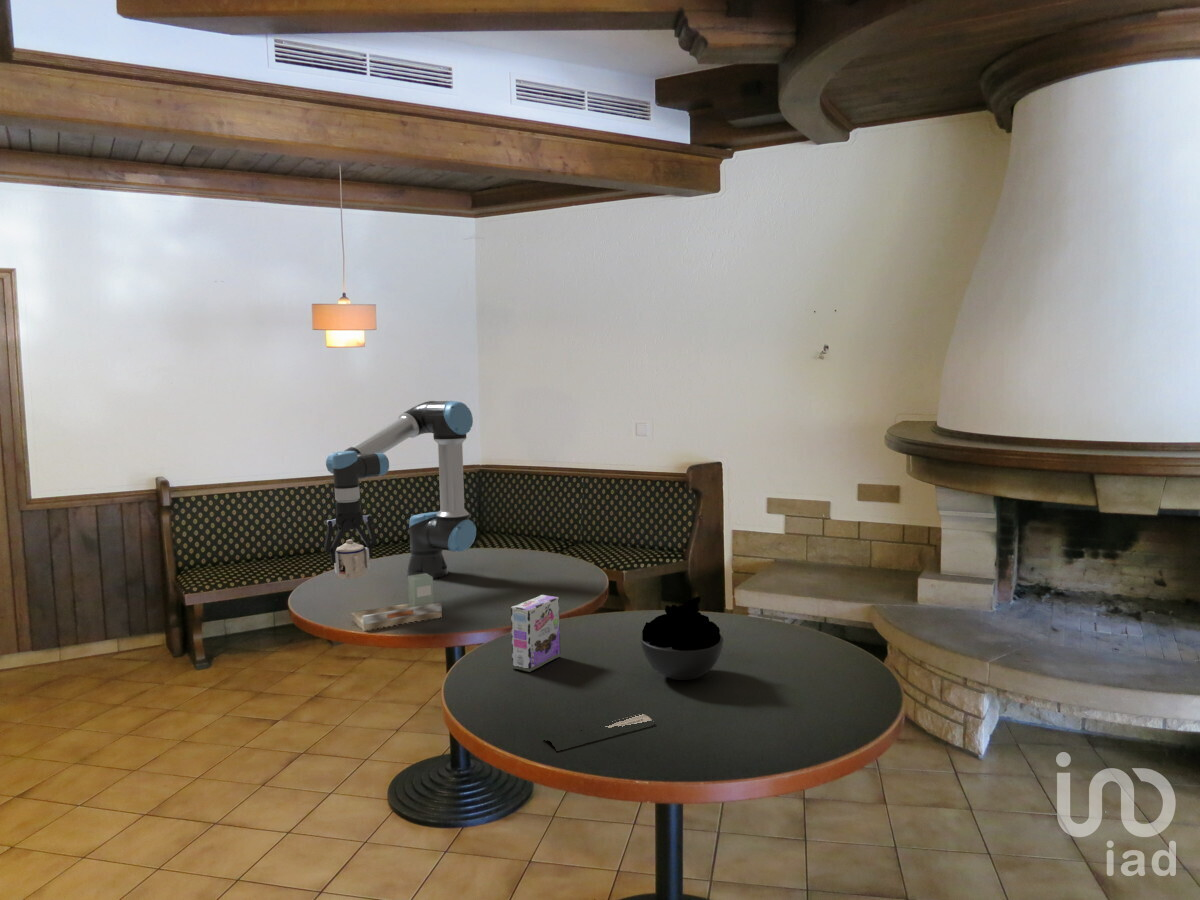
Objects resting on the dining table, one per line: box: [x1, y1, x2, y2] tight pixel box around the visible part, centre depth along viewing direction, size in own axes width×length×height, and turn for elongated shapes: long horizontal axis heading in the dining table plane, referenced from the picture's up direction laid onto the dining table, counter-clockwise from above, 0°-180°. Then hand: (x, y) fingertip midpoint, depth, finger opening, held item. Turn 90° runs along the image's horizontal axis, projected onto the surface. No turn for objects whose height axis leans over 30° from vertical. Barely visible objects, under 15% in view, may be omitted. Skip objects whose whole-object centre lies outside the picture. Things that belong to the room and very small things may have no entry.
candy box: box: [510, 594, 561, 669], centre depth 217 cm, size 14×6×16 cm, turn 148°
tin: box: [407, 573, 435, 608], centre depth 263 cm, size 6×6×10 cm
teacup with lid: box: [336, 539, 367, 580], centre depth 268 cm, size 12×9×12 cm
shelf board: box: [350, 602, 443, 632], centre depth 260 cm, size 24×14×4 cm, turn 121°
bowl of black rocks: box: [640, 596, 724, 681], centre depth 205 cm, size 20×20×19 cm
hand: (352, 570), depth 268 cm, fingers closed on teacup with lid, 9 cm apart
